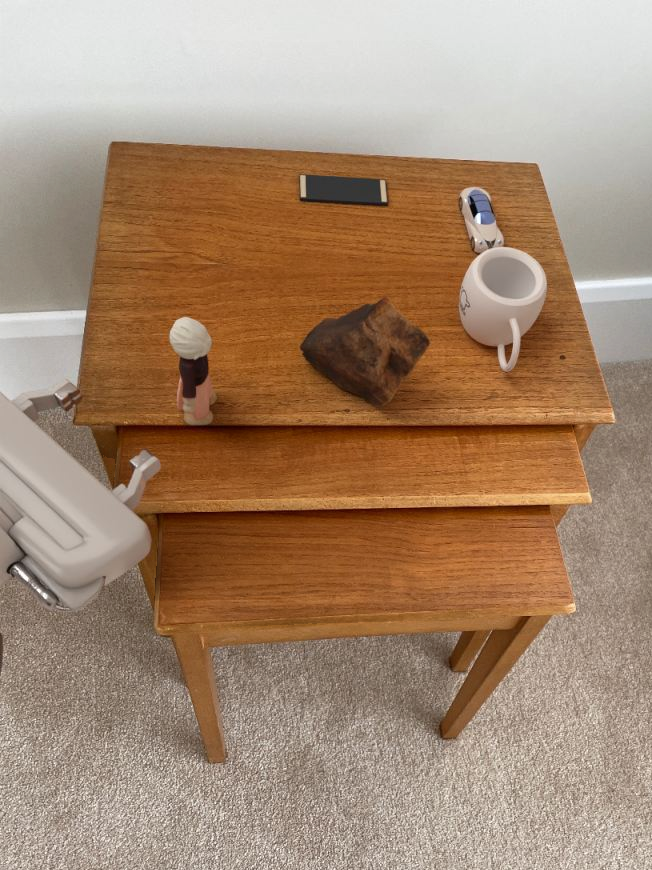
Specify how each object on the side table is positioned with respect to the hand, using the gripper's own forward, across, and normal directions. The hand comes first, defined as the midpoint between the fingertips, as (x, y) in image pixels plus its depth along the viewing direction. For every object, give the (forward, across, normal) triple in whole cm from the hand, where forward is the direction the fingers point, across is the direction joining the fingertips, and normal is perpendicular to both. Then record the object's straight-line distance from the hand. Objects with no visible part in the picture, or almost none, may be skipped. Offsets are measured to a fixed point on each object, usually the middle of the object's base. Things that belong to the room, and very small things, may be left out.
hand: (114, 422), depth 64 cm
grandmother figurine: (+9, 0, +8) cm, 12 cm away
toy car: (+48, -5, +8) cm, 48 cm away
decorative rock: (+23, -8, +8) cm, 25 cm away
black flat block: (+41, +10, +8) cm, 43 cm away
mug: (+37, -15, +8) cm, 40 cm away
